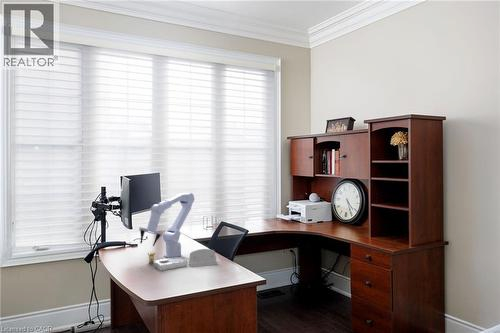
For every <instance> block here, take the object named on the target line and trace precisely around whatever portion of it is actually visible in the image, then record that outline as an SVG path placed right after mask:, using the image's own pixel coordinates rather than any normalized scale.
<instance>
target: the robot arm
mask: <svg viewBox="0 0 500 333" xmlns="http://www.w3.org/2000/svg"><path fill="white" fill-rule="evenodd" d="M194 195H195V194H194V193H192V192H180V193H178V194H177V195H175V196H173V197H172V198H170V199H168V198H167V199H166V198H164V199H163V201H161V202H158V203H155V204H153V205H152V206H151V207H150V211H151V212H150V218H149V221H148V224H147V228H145V227H141V226H140V227H139V228H138V231H140V244H142V243H143V239H144V236H145V233H149V234H153V235H156V236H155V239H154V241H153V244H152V247H155V245H156V244H157V241H158V240H159V239H160V238H161V237H162V238H163V241H164V243H165V254H163V256H164V257H165V258H166V259H168V258H174V257H182V245H181V242H180V236H181V232H180V230H181V229H182V226H183V225H184V223H185V222H186V219H187V217H188V215H189V214H190V212H191V209H192V206H193V204H194V202H195V196H194ZM178 202H179V204H180V205H181V207H182V208H181V209H180V211H179V213H178V215H177V217H176V219H175V220H174V222H173V224H172V226H171V227H169V228H168V229H167V230H166V231H165V232H161V231H158V230H157V229H158V226H159V223H160V220H161V216H162V214H164V213H165V211H166V210H168V209H170V208H172V205H175V204H176V203H178Z"/></svg>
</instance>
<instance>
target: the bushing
mask: <svg viewBox="0 0 500 333" xmlns="http://www.w3.org/2000/svg"><path fill="white" fill-rule="evenodd" d="M147 255H148V264H151V265H152V264H153V265H154V261H155V255H156V252H154V251H152V252H147Z"/></svg>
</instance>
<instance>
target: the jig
mask: <svg viewBox="0 0 500 333" xmlns="http://www.w3.org/2000/svg"><path fill="white" fill-rule="evenodd" d="M187 263H188V261H187V260H186V259H184V258H182V257H181V256H177V257H171V258H163V259H157V260H154V263H153V267H155V268H156V269H157V270H158V271H159V272H162V270H163V271H167V270H174V269H178V268H185V267H188V264H187Z"/></svg>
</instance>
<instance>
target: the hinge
mask: <svg viewBox="0 0 500 333" xmlns="http://www.w3.org/2000/svg"><path fill="white" fill-rule="evenodd" d="M188 261H189V262H188V265H189V266H190V268H193V267H205V266H213V265H218V261H217V256H216V251H215V250H213V249H209V248H200V249H196V250H193V251H191V252H189V259H188Z"/></svg>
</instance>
